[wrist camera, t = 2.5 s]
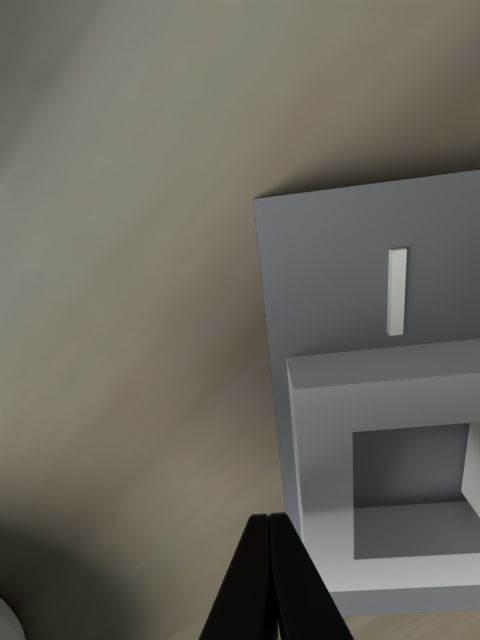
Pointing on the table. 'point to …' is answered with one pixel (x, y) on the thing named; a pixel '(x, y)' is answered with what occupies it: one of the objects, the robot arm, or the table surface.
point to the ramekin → (9, 624)
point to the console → (378, 384)
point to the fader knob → (472, 468)
